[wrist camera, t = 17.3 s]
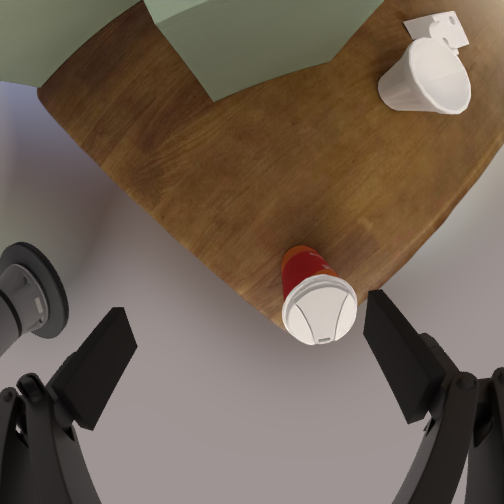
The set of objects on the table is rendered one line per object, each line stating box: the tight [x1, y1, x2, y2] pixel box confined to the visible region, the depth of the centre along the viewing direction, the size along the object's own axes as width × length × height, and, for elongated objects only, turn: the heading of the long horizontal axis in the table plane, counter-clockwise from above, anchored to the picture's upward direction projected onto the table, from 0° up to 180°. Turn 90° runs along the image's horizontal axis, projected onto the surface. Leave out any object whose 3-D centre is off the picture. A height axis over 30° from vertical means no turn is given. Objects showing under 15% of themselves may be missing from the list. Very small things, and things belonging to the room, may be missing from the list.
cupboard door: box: [0, 0, 141, 88], centre depth 15 cm, size 7×26×24 cm, turn 121°
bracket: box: [403, 11, 469, 55], centre depth 23 cm, size 13×7×8 cm, turn 125°
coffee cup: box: [281, 245, 357, 345], centre depth 33 cm, size 8×8×15 cm
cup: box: [378, 37, 471, 114], centre depth 25 cm, size 10×10×13 cm
